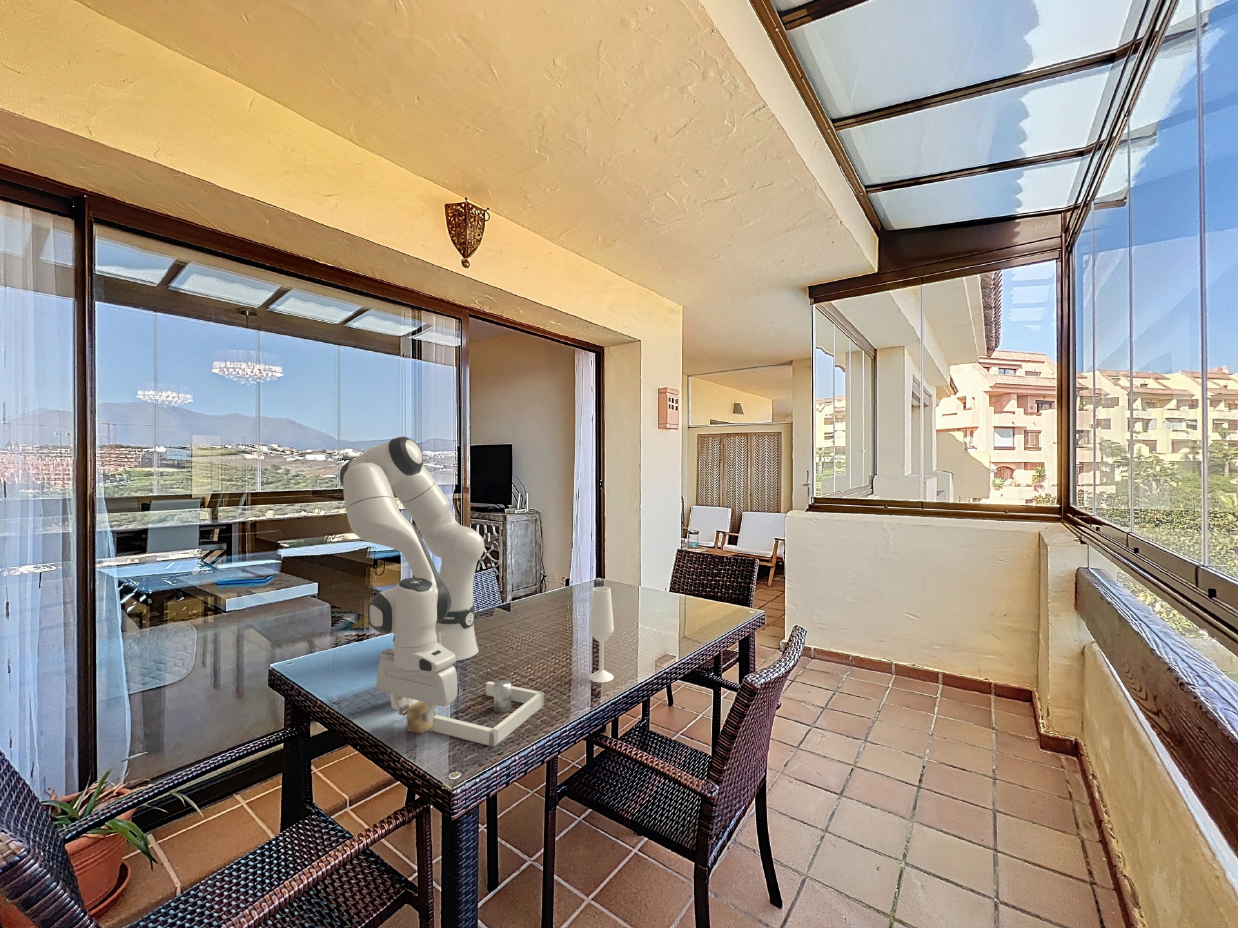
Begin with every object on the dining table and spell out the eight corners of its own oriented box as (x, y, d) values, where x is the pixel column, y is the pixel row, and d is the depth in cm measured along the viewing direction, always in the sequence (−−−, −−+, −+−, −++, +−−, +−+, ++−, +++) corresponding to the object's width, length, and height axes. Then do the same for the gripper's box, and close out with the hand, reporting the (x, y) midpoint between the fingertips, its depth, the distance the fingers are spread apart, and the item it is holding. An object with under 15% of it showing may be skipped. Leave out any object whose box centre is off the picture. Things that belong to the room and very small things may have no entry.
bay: (432, 731, 115) (432, 717, 115) (488, 693, 134) (488, 681, 134) (494, 746, 109) (494, 732, 109) (544, 704, 128) (544, 692, 128)
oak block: (407, 730, 116) (407, 707, 116) (421, 722, 119) (420, 700, 119) (421, 733, 114) (421, 710, 114) (435, 725, 118) (434, 702, 118)
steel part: (490, 710, 125) (490, 685, 125) (500, 703, 128) (500, 678, 128) (504, 713, 123) (504, 688, 123) (514, 706, 127) (514, 681, 127)
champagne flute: (597, 684, 139) (598, 593, 139) (584, 675, 145) (584, 588, 144) (618, 678, 143) (619, 589, 143) (604, 670, 149) (604, 584, 148)
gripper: (369, 651, 117) (369, 714, 118) (441, 666, 109) (441, 733, 109) (391, 642, 123) (392, 702, 123) (462, 656, 115) (462, 719, 115)
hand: (415, 717), depth 116 cm, fingers open, 6 cm apart
